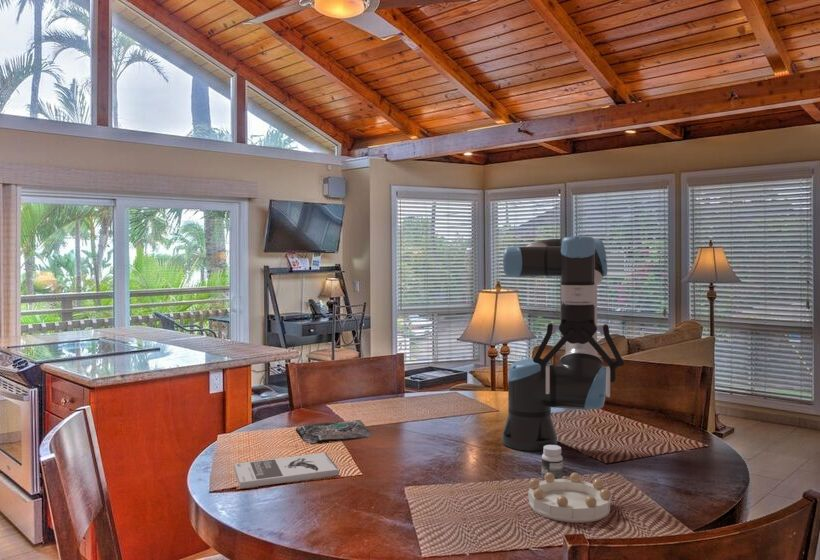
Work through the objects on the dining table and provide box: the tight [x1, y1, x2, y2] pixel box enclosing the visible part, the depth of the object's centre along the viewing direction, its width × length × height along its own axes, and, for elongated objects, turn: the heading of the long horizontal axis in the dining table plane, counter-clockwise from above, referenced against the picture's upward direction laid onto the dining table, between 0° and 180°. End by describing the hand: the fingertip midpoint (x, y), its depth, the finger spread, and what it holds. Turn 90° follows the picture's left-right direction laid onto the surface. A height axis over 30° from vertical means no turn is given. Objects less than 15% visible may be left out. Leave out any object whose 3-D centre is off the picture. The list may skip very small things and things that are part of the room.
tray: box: [527, 472, 612, 524], centre depth 132 cm, size 17×17×5 cm
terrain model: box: [295, 419, 373, 445], centre depth 187 cm, size 20×15×3 cm
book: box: [233, 452, 340, 490], centre depth 154 cm, size 23×14×2 cm, turn 111°
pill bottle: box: [541, 444, 564, 481], centre depth 145 cm, size 5×5×8 cm
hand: (577, 394), depth 147 cm, fingers open, 13 cm apart
